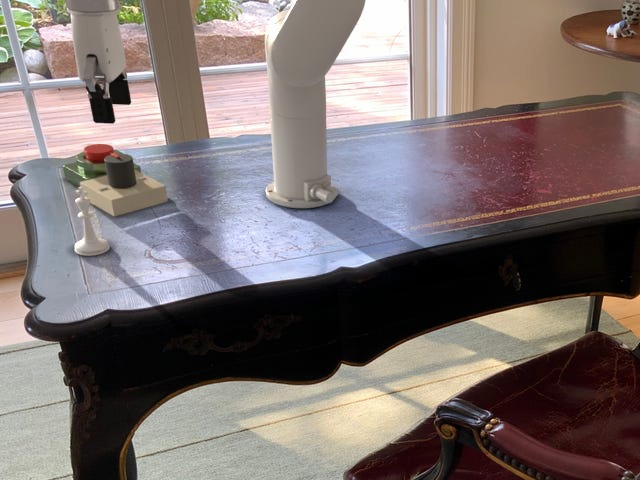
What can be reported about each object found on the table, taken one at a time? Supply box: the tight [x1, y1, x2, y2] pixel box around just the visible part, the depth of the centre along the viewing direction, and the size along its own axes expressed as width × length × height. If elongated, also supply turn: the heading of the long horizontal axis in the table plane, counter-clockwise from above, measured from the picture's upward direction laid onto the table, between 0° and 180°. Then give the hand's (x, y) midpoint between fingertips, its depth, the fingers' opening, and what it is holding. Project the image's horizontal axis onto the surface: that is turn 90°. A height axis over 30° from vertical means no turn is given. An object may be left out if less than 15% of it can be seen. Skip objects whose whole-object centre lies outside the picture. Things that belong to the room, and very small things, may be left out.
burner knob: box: [104, 153, 136, 188], centre depth 138 cm, size 4×4×5 cm
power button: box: [83, 143, 115, 162], centre depth 145 cm, size 5×5×2 cm
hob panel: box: [80, 170, 169, 217], centre depth 141 cm, size 10×10×3 cm
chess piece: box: [74, 187, 111, 257], centre depth 123 cm, size 5×5×10 cm
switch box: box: [62, 149, 142, 188], centre depth 147 cm, size 10×8×4 cm
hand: (113, 113), depth 133 cm, fingers open, 9 cm apart
